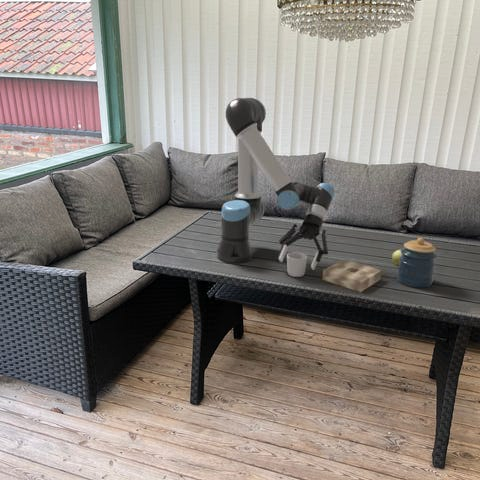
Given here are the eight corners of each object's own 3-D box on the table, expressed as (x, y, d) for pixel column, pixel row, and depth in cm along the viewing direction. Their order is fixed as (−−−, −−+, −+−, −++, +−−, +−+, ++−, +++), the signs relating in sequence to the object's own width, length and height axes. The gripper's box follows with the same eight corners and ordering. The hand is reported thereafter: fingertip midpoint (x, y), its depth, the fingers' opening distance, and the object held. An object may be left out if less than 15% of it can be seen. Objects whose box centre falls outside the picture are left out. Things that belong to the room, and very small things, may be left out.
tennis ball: (404, 252, 186) (411, 248, 190) (388, 250, 190) (395, 247, 195) (404, 267, 187) (411, 263, 192) (388, 265, 192) (396, 261, 196)
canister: (439, 286, 170) (447, 242, 165) (410, 290, 167) (417, 244, 161) (417, 273, 182) (424, 231, 176) (389, 276, 178) (395, 233, 173)
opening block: (322, 279, 173) (323, 269, 172) (343, 268, 185) (344, 259, 184) (360, 292, 163) (361, 282, 162) (380, 279, 175) (381, 270, 174)
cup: (296, 267, 185) (297, 248, 182) (313, 272, 180) (315, 253, 177) (281, 274, 177) (282, 255, 174) (299, 280, 172) (300, 260, 169)
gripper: (346, 228, 179) (328, 275, 172) (288, 218, 191) (270, 261, 184) (342, 218, 173) (324, 267, 166) (284, 208, 185) (264, 253, 178)
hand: (296, 264), depth 175 cm, fingers open, 13 cm apart
